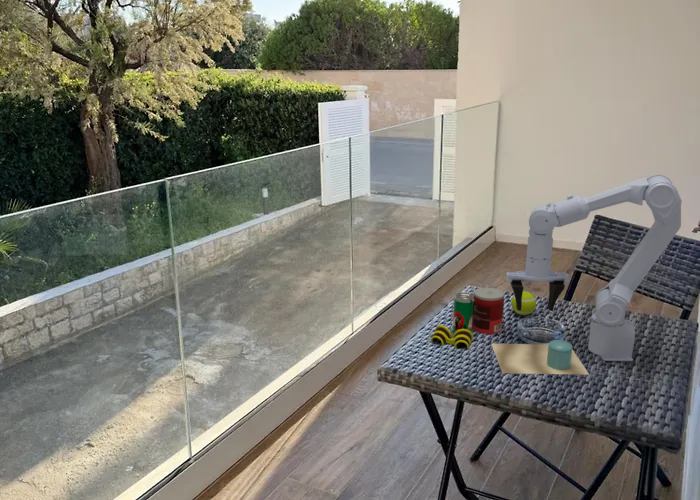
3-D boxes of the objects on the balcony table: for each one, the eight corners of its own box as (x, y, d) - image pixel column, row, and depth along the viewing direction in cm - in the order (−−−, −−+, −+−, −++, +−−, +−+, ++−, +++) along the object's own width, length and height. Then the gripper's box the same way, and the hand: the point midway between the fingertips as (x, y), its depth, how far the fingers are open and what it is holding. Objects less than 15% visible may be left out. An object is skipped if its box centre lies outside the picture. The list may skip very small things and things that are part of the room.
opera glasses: (429, 350, 152) (429, 333, 150) (435, 338, 157) (435, 322, 154) (468, 357, 149) (468, 340, 146) (473, 344, 153) (473, 328, 151)
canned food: (500, 326, 163) (503, 287, 160) (502, 339, 156) (505, 299, 152) (471, 324, 165) (473, 286, 161) (471, 337, 157) (474, 297, 154)
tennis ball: (538, 318, 168) (540, 296, 166) (514, 319, 168) (516, 296, 166) (530, 309, 174) (532, 287, 172) (507, 309, 174) (509, 287, 172)
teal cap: (566, 359, 142) (568, 340, 141) (573, 369, 138) (575, 349, 136) (544, 359, 142) (546, 339, 141) (550, 369, 138) (552, 349, 136)
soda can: (472, 344, 153) (474, 299, 150) (451, 342, 154) (453, 298, 151) (472, 335, 158) (475, 292, 154) (452, 334, 159) (454, 291, 155)
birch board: (568, 349, 150) (569, 344, 150) (588, 379, 136) (589, 374, 135) (490, 347, 151) (491, 343, 151) (502, 377, 137) (502, 373, 136)
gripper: (565, 251, 150) (559, 303, 154) (505, 251, 150) (501, 302, 154) (573, 260, 143) (568, 314, 147) (510, 260, 144) (507, 313, 148)
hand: (534, 309), depth 150 cm, fingers open, 7 cm apart
